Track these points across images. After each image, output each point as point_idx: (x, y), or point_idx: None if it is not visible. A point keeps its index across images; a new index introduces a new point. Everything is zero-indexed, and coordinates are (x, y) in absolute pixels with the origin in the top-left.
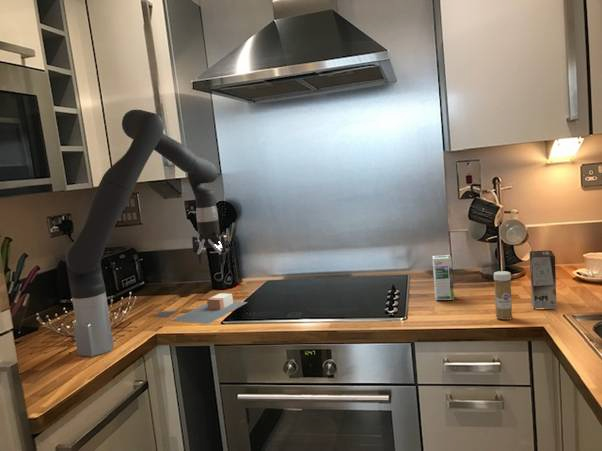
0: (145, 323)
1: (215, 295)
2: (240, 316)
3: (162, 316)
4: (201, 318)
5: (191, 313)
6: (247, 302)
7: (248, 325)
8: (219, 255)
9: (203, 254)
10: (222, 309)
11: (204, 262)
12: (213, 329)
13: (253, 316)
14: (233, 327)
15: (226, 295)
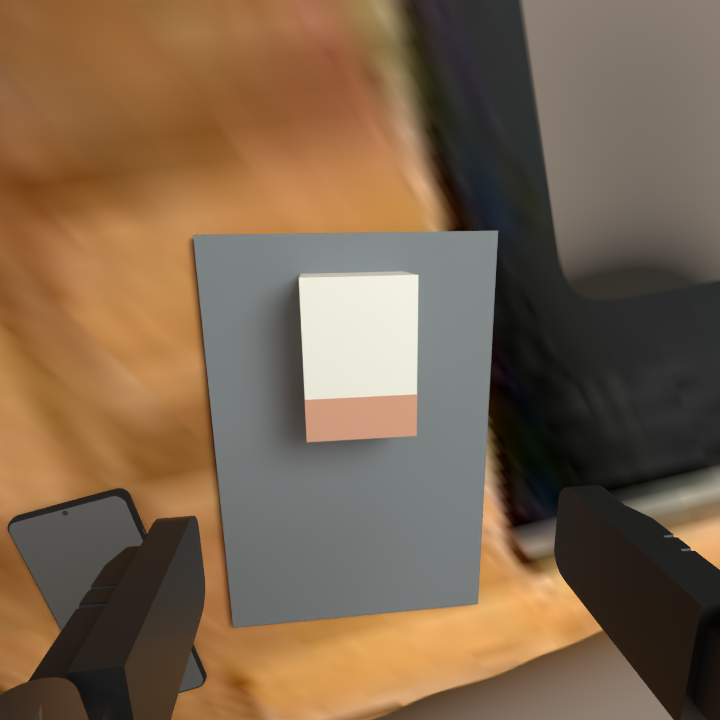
0: None
1: (305, 341)
2: (568, 458)
3: None
4: (386, 558)
5: (259, 507)
6: (497, 238)
7: None
8: (684, 705)
9: (139, 689)
10: None
11: (191, 542)
12: (530, 633)
13: (639, 443)
14: None
15: (399, 326)
